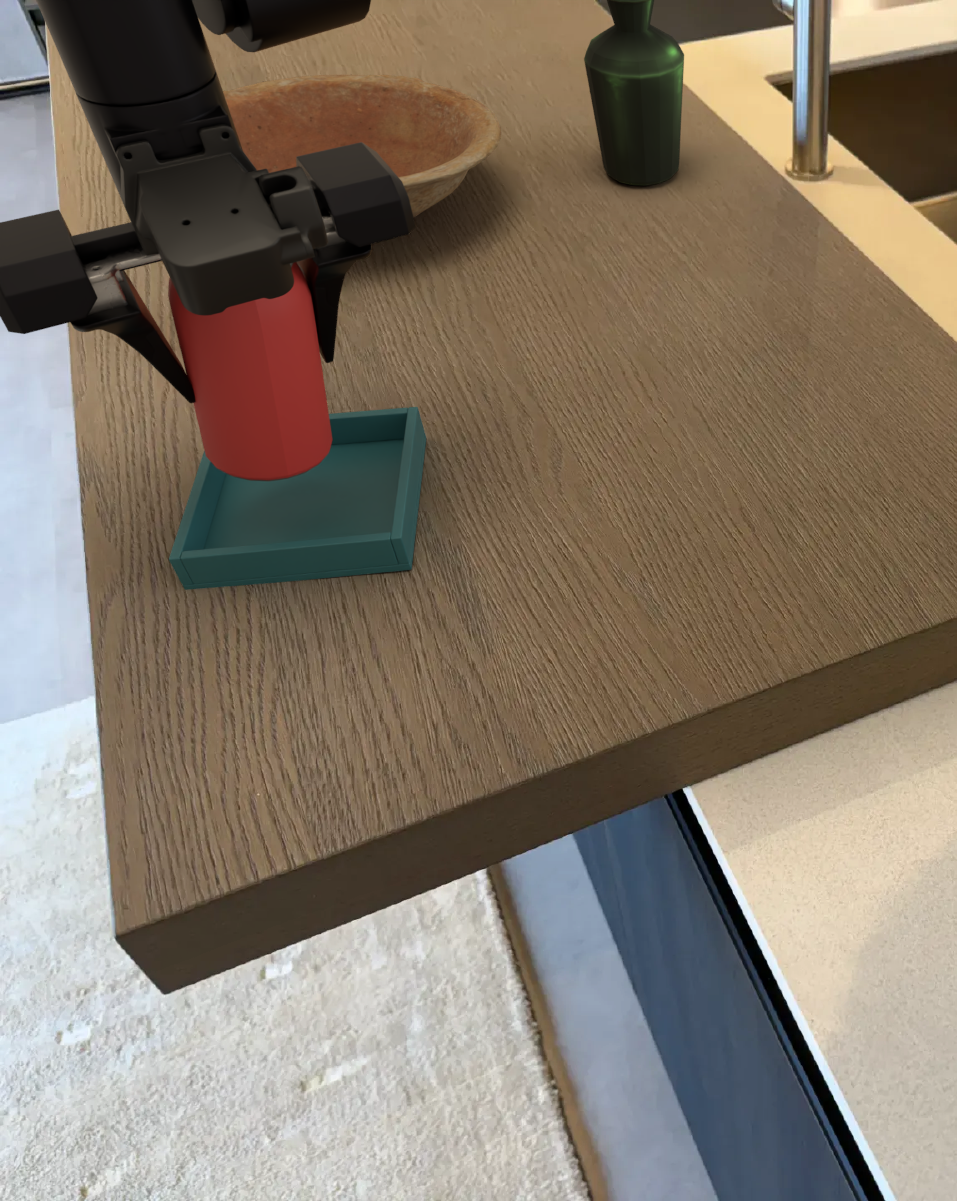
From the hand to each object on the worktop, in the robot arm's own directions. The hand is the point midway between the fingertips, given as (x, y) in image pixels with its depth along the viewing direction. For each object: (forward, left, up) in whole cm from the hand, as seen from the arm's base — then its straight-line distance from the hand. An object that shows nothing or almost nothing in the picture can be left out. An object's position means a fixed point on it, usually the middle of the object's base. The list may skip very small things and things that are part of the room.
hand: (261, 378), depth 61 cm
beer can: (-1, 0, -5) cm, 5 cm away
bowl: (-1, +37, -10) cm, 38 cm away
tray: (0, 0, -9) cm, 9 cm away
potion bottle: (+22, +42, -10) cm, 49 cm away
